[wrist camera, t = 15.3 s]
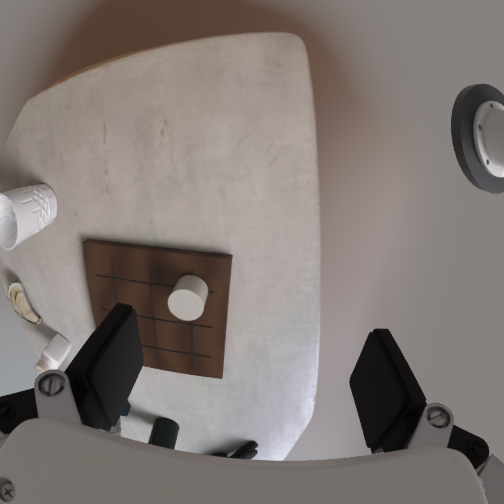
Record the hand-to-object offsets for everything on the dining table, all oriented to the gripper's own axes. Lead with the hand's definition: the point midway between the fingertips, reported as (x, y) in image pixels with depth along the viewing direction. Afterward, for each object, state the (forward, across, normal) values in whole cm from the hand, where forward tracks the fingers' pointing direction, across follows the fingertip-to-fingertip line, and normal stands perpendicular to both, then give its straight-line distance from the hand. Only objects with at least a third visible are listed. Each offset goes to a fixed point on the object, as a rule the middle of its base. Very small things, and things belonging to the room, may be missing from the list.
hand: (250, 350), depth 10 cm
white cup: (+26, +34, +2) cm, 42 cm away
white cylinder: (+24, +8, +12) cm, 28 cm away
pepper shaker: (+25, +36, +30) cm, 53 cm away
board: (+26, +14, +18) cm, 34 cm away
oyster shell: (+25, +43, +21) cm, 54 cm away
